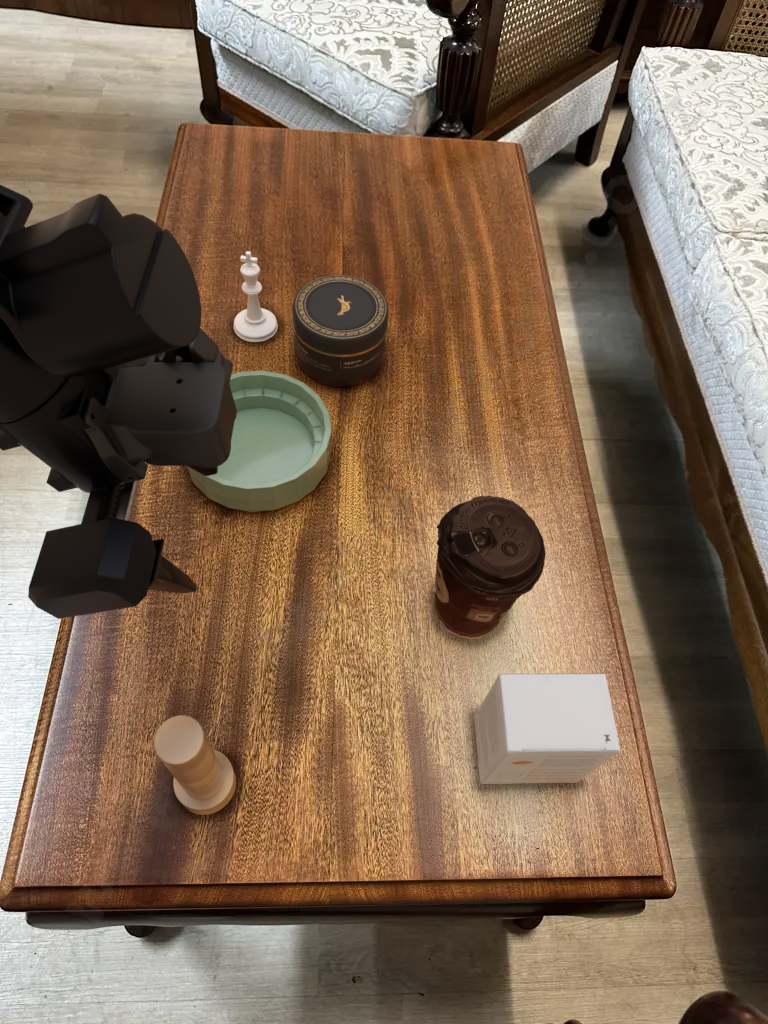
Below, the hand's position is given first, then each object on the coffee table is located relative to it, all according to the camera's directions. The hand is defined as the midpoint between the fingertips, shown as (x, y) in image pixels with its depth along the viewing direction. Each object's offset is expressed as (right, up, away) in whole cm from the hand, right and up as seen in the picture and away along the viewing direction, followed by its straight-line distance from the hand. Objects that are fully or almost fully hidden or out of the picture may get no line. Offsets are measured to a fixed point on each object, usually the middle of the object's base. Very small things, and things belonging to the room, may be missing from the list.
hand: (202, 528), depth 49 cm
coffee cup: (+20, -7, +16) cm, 27 cm away
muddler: (-1, -20, +6) cm, 21 cm away
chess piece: (-2, +22, +33) cm, 40 cm away
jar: (+7, +18, +31) cm, 37 cm away
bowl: (0, +7, +23) cm, 24 cm away
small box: (+24, -18, +10) cm, 31 cm away
